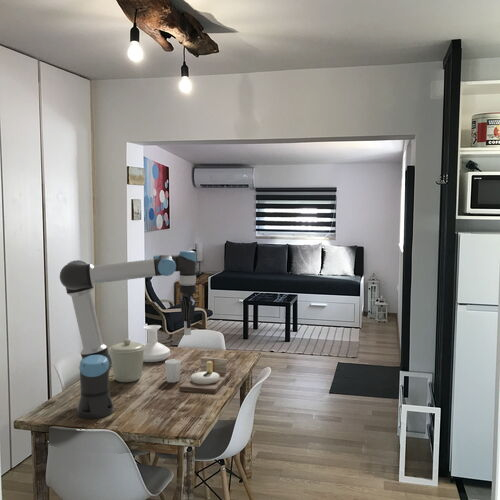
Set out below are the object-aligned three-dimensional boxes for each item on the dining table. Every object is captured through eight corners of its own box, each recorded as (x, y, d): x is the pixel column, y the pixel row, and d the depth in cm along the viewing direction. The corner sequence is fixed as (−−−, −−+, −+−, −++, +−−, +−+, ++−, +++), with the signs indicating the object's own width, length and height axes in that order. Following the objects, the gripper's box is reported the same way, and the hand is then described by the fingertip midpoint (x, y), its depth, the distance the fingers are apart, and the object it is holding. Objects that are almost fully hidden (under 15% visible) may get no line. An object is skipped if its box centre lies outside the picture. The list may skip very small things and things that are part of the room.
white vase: (127, 360, 302) (127, 328, 301) (153, 353, 319) (152, 321, 317) (152, 366, 291) (152, 332, 289) (177, 358, 307) (176, 325, 306)
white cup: (178, 383, 262) (177, 363, 261) (163, 382, 263) (162, 363, 262) (183, 378, 269) (182, 359, 269) (168, 377, 271) (168, 358, 270)
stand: (215, 393, 247) (215, 374, 246) (179, 390, 251) (179, 372, 250) (230, 376, 273) (230, 359, 272) (198, 373, 277) (198, 356, 277)
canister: (108, 386, 258) (107, 344, 256) (110, 375, 275) (109, 335, 274) (146, 383, 261) (145, 342, 260) (145, 373, 279) (144, 334, 278)
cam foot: (211, 385, 251) (211, 370, 250) (186, 382, 256) (185, 367, 255) (223, 377, 264) (223, 362, 263) (199, 374, 269) (198, 359, 268)
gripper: (201, 285, 238) (201, 336, 240) (189, 282, 249) (188, 331, 251) (186, 286, 234) (186, 338, 236) (174, 283, 245) (174, 332, 247)
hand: (187, 334), depth 243 cm, fingers closed
